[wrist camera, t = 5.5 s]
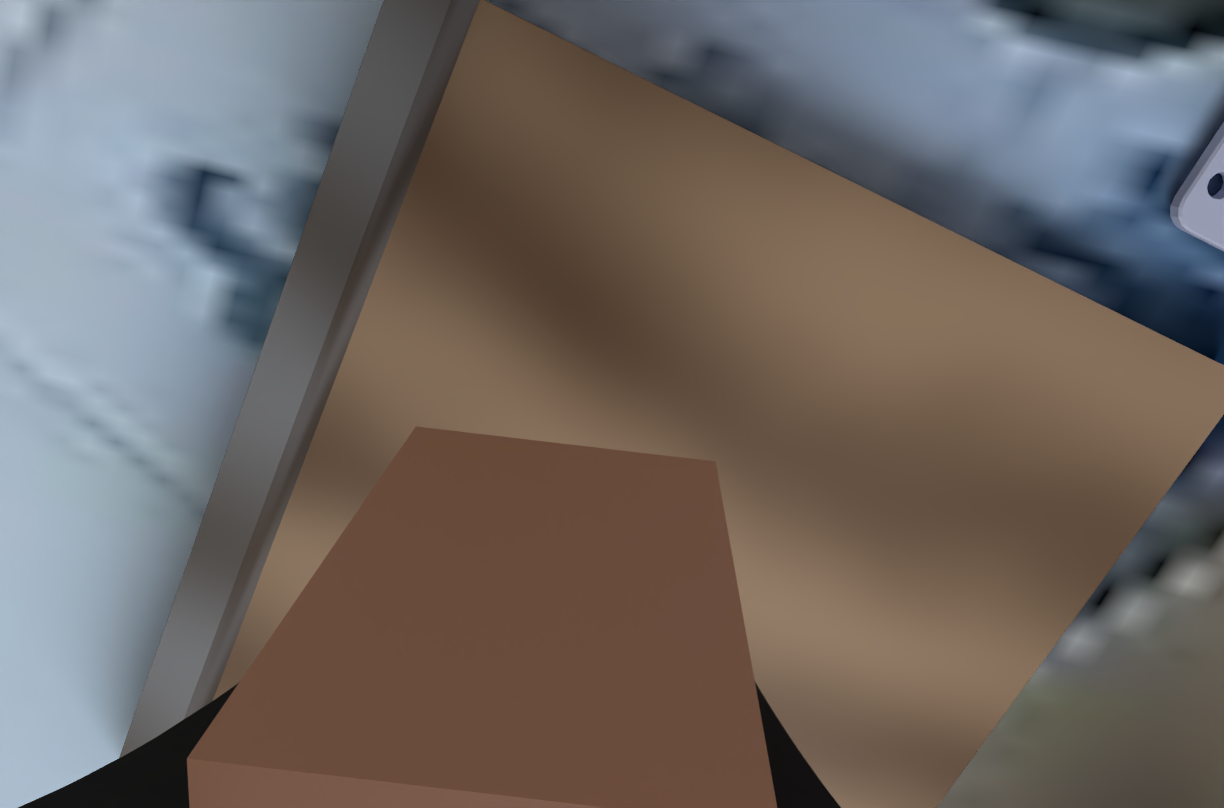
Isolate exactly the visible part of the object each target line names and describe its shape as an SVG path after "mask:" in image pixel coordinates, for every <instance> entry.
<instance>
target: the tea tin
mask: <svg viewBox="0 0 1224 808" xmlns="http://www.w3.org/2000/svg"><path fill="white" fill-rule="evenodd" d="M187 771H188V790H189V808H777V803H776V798H775V792H774V786H773V781H772V775H771V770H770V764H769V758H768V753H767V747H766V742H765V736H764V730H763V725H762V719H761V714H760V708H759V702H758V697H757V691H756V686H755V680H754V674H753V669H752V663H751V658H750V652H749V646H748V641H747V635H746V630H745V624H744V618H743V613H742V607H741V601H740V596H739V590H738V585H737V579H736V573H735V568H734V562H733V557H732V551H731V545H730V540H729V534H728V529H727V523H726V517H725V512H724V506H723V501H722V495H721V489H720V484H719V478H718V473H717V467H716V461H708V460H699V459H690V458H682V457H673V456H665V455H656V454H648V453H639V452H631V451H622V450H613V449H605V448H596V447H588V446H579V445H571V444H562V443H554V442H545V441H536V440H528V439H519V438H511V437H502V436H494V435H485V434H477V433H468V432H459V431H451V430H442V429H434V428H425V427H417V426H416V427H415V428H414V430H413V431H412V433H411V434H410V436H409V437H408V438H407V440H406V441H405V443H404V444H403V446H402V447H401V449H400V450H399V451H398V453H397V454H396V456H395V457H394V459H393V460H392V462H391V463H390V465H389V466H388V467H387V469H386V470H385V472H384V473H383V475H382V476H381V478H380V479H379V481H378V482H377V483H376V485H375V486H374V488H373V489H372V491H371V492H370V494H369V495H368V496H367V498H366V499H365V501H364V502H363V504H362V505H361V507H360V508H359V510H358V511H357V512H356V514H355V515H354V517H353V518H352V520H351V521H350V523H349V524H348V525H347V527H346V528H345V530H344V531H343V533H342V534H341V536H340V537H339V539H338V540H337V541H336V543H335V544H334V546H333V547H332V549H331V550H330V552H329V553H328V554H327V556H326V557H325V559H324V560H323V562H322V563H321V565H320V566H319V568H318V569H317V570H316V572H315V573H314V575H313V576H312V578H311V579H310V581H309V582H308V584H307V585H306V586H305V588H304V589H303V591H302V592H301V594H300V595H299V597H298V598H297V599H296V601H295V602H294V604H293V605H292V607H291V608H290V610H289V611H288V613H287V614H286V615H285V617H284V618H283V620H282V621H281V623H280V624H279V626H278V627H277V628H276V630H275V631H274V633H273V634H272V636H271V637H270V639H269V640H268V642H267V643H266V644H265V646H264V647H263V649H262V650H261V652H260V653H259V655H258V656H257V658H256V659H255V660H254V662H253V663H252V665H251V666H250V668H249V669H248V671H247V672H246V673H245V675H244V676H243V678H242V679H241V681H240V682H239V684H238V685H237V687H236V688H235V689H234V691H233V692H232V694H231V695H230V697H229V698H228V700H227V701H226V702H225V704H224V705H223V707H222V708H221V710H220V711H219V713H218V714H217V716H216V717H215V718H214V720H213V721H212V723H211V724H210V726H209V727H208V729H207V730H206V732H205V733H204V734H203V736H202V737H201V739H200V740H199V742H198V743H197V745H196V746H195V747H194V749H193V750H192V752H191V753H190V755H189V756H188V758H187Z"/></svg>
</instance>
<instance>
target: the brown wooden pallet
mask: <svg viewBox="0 0 1224 808" xmlns="http://www.w3.org/2000/svg"><path fill="white" fill-rule="evenodd" d="M1223 415H1224V365H1222V364H1220V363H1218V362H1216V361H1214V360H1212V359H1210V358H1208V357H1206V356H1204V355H1202V354H1200V353H1198V352H1196V351H1194V350H1192V349H1190V348H1187V347H1185V346H1183V345H1181V344H1179V343H1177V342H1175V341H1173V340H1171V339H1169V338H1167V337H1165V336H1163V335H1161V334H1159V333H1157V332H1155V331H1153V330H1151V329H1149V328H1147V327H1145V326H1143V325H1141V324H1139V323H1137V322H1135V321H1133V320H1131V319H1129V318H1127V317H1125V316H1123V315H1121V314H1119V313H1117V312H1115V311H1113V310H1111V309H1109V308H1106V307H1104V306H1102V305H1100V304H1098V303H1096V302H1094V301H1092V300H1090V299H1088V298H1086V297H1084V296H1082V295H1080V294H1078V293H1076V292H1074V291H1072V290H1070V289H1068V288H1066V287H1064V286H1062V285H1060V284H1058V283H1056V282H1054V281H1052V280H1050V279H1048V278H1046V277H1044V276H1042V275H1040V274H1038V273H1036V272H1034V271H1032V270H1030V269H1028V268H1026V267H1023V266H1021V265H1019V264H1017V263H1015V262H1013V261H1011V260H1009V259H1007V258H1005V257H1003V256H1001V255H999V254H997V253H995V252H993V251H991V250H989V249H987V248H985V247H983V246H981V245H979V244H977V243H975V242H973V241H971V240H969V239H967V238H965V237H963V236H961V235H959V234H957V233H955V232H953V231H951V230H949V229H947V228H945V227H942V226H940V225H938V224H936V223H934V222H932V221H930V220H928V219H926V218H924V217H922V216H920V215H918V214H916V213H914V212H912V211H910V210H908V209H906V208H904V207H902V206H900V205H898V204H896V203H894V202H892V201H890V200H888V199H886V198H884V197H882V196H880V195H878V194H876V193H874V192H872V191H870V190H868V189H866V188H864V187H862V186H859V185H857V184H855V183H853V182H851V181H849V180H847V179H845V178H843V177H841V176H839V175H837V174H835V173H833V172H831V171H829V170H827V169H825V168H823V167H821V166H819V165H817V164H815V163H813V162H811V161H809V160H807V159H805V158H803V157H801V156H799V155H797V154H795V153H793V152H791V151H789V150H787V149H785V148H783V147H781V146H778V145H776V144H774V143H772V142H770V141H768V140H766V139H764V138H762V137H760V136H758V135H756V134H754V133H752V132H750V131H748V130H746V129H744V128H742V127H740V126H738V125H736V124H734V123H732V122H730V121H728V120H726V119H724V118H722V117H720V116H718V115H716V114H714V113H712V112H710V111H708V110H706V109H704V108H702V107H700V106H698V105H695V104H693V103H691V102H689V101H687V100H685V99H683V98H681V97H679V96H677V95H675V94H673V93H671V92H669V91H667V90H665V89H663V88H661V87H659V86H657V85H655V84H653V83H651V82H649V81H647V80H645V79H643V78H641V77H639V76H637V75H635V74H633V73H631V72H629V71H627V70H625V69H623V68H621V67H619V66H617V65H615V64H612V63H610V62H608V61H606V60H604V59H602V58H600V57H598V56H596V55H594V54H592V53H590V52H588V51H586V50H584V49H582V48H580V47H578V46H576V45H574V44H572V43H570V42H568V41H566V40H564V39H562V38H560V37H558V36H556V35H554V34H552V33H550V32H548V31H546V30H544V29H542V28H540V27H538V26H536V25H534V24H531V23H529V22H527V21H525V20H523V19H521V18H519V17H517V16H515V15H513V14H511V13H509V12H507V11H505V10H503V9H501V8H499V7H497V6H495V5H493V4H491V3H489V2H487V1H485V0H384V1H383V4H382V7H381V10H380V13H379V16H378V18H377V21H376V24H375V27H374V30H373V33H372V36H371V38H370V41H369V44H368V47H367V50H366V53H365V56H364V59H363V61H362V64H361V67H360V70H359V73H358V76H357V79H356V81H355V84H354V87H353V90H352V93H351V96H350V99H349V101H348V104H347V107H346V110H345V113H344V116H343V119H342V122H341V124H340V127H339V130H338V133H337V136H336V139H335V142H334V144H333V147H332V150H331V153H330V156H329V159H328V162H327V165H326V167H325V170H324V173H323V176H322V179H321V182H320V185H319V187H318V190H317V193H316V196H315V199H314V202H313V205H312V207H311V210H310V213H309V216H308V219H307V222H306V225H305V228H304V230H303V233H302V236H301V239H300V242H299V245H298V248H297V250H296V253H295V256H294V259H293V262H292V265H291V268H290V271H289V273H288V276H287V279H286V282H285V285H284V288H283V291H282V293H281V296H280V299H279V302H278V305H277V308H276V311H275V313H274V316H273V319H272V322H271V325H270V328H269V331H268V334H267V336H266V339H265V342H264V345H263V348H262V351H261V354H260V356H259V359H258V362H257V365H256V368H255V371H254V374H253V377H252V379H251V382H250V385H249V388H248V391H247V394H246V397H245V399H244V402H243V405H242V408H241V411H240V414H239V417H238V420H237V422H236V425H235V428H234V431H233V434H232V437H231V440H230V442H229V445H228V448H227V451H226V454H225V457H224V460H223V462H222V465H221V468H220V471H219V474H218V477H217V480H216V483H215V485H214V488H213V491H212V494H211V497H210V500H209V503H208V505H207V508H206V511H205V514H204V517H203V520H202V523H201V526H200V528H199V531H198V534H197V537H196V540H195V543H194V546H193V548H192V551H191V554H190V557H189V560H188V563H187V566H186V568H185V571H184V574H183V577H182V580H181V583H180V586H179V589H178V591H177V594H176V597H175V600H174V603H173V606H172V609H171V611H170V614H169V617H168V620H167V623H166V626H165V629H164V632H163V634H162V637H161V640H160V643H159V646H158V649H157V652H156V654H155V657H154V660H153V663H152V666H151V669H150V672H149V674H148V677H147V680H146V683H145V686H144V689H143V692H142V695H141V697H140V700H139V703H138V706H137V709H136V712H135V715H134V717H133V720H132V723H131V726H130V729H129V732H128V735H127V738H126V740H125V743H124V746H123V749H122V752H121V755H120V758H121V757H123V756H124V755H126V754H128V753H130V752H131V751H133V750H135V749H137V748H139V747H140V746H142V745H144V744H145V743H147V742H149V741H150V740H152V739H154V738H156V737H157V736H159V735H160V734H162V733H164V732H165V731H167V730H168V729H170V728H171V727H173V726H174V725H176V724H178V723H179V722H181V721H182V720H184V719H185V718H187V717H188V716H190V715H192V714H193V713H195V712H196V711H198V710H199V709H201V708H202V707H204V706H206V705H207V704H209V703H210V702H212V701H213V700H215V699H216V698H218V697H219V696H221V695H222V694H223V693H225V692H226V691H228V690H229V689H231V688H232V687H233V686H235V685H236V684H238V683H239V682H240V681H241V679H242V678H243V676H244V675H245V673H246V672H247V671H248V669H249V668H250V666H251V665H252V663H253V662H254V660H255V659H256V658H257V656H258V655H259V653H260V652H261V650H262V649H263V647H264V646H265V644H266V643H267V642H268V640H269V639H270V637H271V636H272V634H273V633H274V631H275V630H276V628H277V627H278V626H279V624H280V623H281V621H282V620H283V618H284V617H285V615H286V614H287V613H288V611H289V610H290V608H291V607H292V605H293V604H294V602H295V601H296V599H297V598H298V597H299V595H300V594H301V592H302V591H303V589H304V588H305V586H306V585H307V584H308V582H309V581H310V579H311V578H312V576H313V575H314V573H315V572H316V570H317V569H318V568H319V566H320V565H321V563H322V562H323V560H324V559H325V557H326V556H327V554H328V553H329V552H330V550H331V549H332V547H333V546H334V544H335V543H336V541H337V540H338V539H339V537H340V536H341V534H342V533H343V531H344V530H345V528H346V527H347V525H348V524H349V523H350V521H351V520H352V518H353V517H354V515H355V514H356V512H357V511H358V510H359V508H360V507H361V505H362V504H363V502H364V501H365V499H366V498H367V496H368V495H369V494H370V492H371V491H372V489H373V488H374V486H375V485H376V483H377V482H378V481H379V479H380V478H381V476H382V475H383V473H384V472H385V470H386V469H387V467H388V466H389V465H390V463H391V462H392V460H393V459H394V457H395V456H396V454H397V453H398V451H399V450H400V449H401V447H402V446H403V444H404V443H405V441H406V440H407V438H408V437H409V436H410V434H411V433H412V431H413V430H414V428H415V427H416V426H417V427H425V428H434V429H442V430H451V431H459V432H468V433H477V434H485V435H494V436H502V437H511V438H519V439H528V440H536V441H545V442H554V443H562V444H571V445H579V446H588V447H596V448H605V449H613V450H622V451H631V452H639V453H648V454H656V455H665V456H673V457H682V458H690V459H699V460H708V461H716V467H717V473H718V478H719V484H720V489H721V495H722V501H723V506H724V512H725V517H726V523H727V529H728V534H729V540H730V545H731V551H732V557H733V562H734V568H735V573H736V579H737V585H738V590H739V596H740V601H741V607H742V613H743V618H744V624H745V630H746V635H747V641H748V646H749V652H750V658H751V663H752V669H753V674H754V680H755V682H756V684H757V685H758V687H759V689H760V690H761V692H762V694H763V695H764V697H765V699H766V700H767V702H768V703H769V705H770V707H771V708H772V710H773V711H774V713H775V715H776V716H777V718H778V719H779V721H780V722H781V724H782V725H783V727H784V729H785V730H786V732H787V733H788V735H789V736H790V738H791V739H792V741H793V742H794V744H795V745H796V747H797V748H798V750H799V751H800V752H801V754H802V755H803V757H804V758H805V759H806V761H807V762H808V764H809V765H810V767H811V768H812V769H813V771H814V772H815V774H816V775H817V776H818V778H819V779H820V781H821V782H822V783H823V785H824V786H825V787H826V789H827V790H828V791H829V793H830V794H831V795H832V797H833V798H834V799H835V801H836V802H837V803H838V804H839V806H840V807H841V808H936V807H937V806H938V804H939V803H940V801H941V800H942V799H943V797H944V796H945V795H946V793H947V792H948V790H949V789H950V788H951V786H952V785H953V784H954V782H955V781H956V780H957V778H958V777H959V775H960V774H961V773H962V771H963V770H964V769H965V767H966V766H967V765H968V763H969V762H970V760H971V759H972V758H973V756H974V755H975V754H976V752H977V751H978V749H979V748H980V747H981V745H982V744H983V743H984V741H985V740H986V739H987V737H988V736H989V734H990V733H991V732H992V730H993V729H994V728H995V726H996V725H997V723H998V722H999V721H1000V719H1001V718H1002V717H1003V715H1004V714H1005V713H1006V711H1007V710H1008V708H1009V707H1010V706H1011V704H1012V703H1013V702H1014V700H1015V699H1016V698H1017V696H1018V695H1019V693H1020V692H1021V691H1022V689H1023V688H1024V687H1025V685H1026V684H1027V682H1028V681H1029V680H1030V678H1031V677H1032V676H1033V674H1034V673H1035V672H1036V670H1037V669H1038V667H1039V666H1040V665H1041V663H1042V662H1043V661H1044V659H1045V658H1046V656H1047V655H1048V654H1049V652H1050V651H1051V650H1052V648H1053V647H1054V646H1055V644H1056V643H1057V641H1058V640H1059V639H1060V637H1061V636H1062V635H1063V633H1064V632H1065V631H1066V629H1067V628H1068V626H1069V625H1070V624H1071V622H1072V621H1073V620H1074V618H1075V617H1076V615H1077V614H1078V613H1079V611H1080V610H1081V609H1082V607H1083V606H1084V605H1085V603H1086V602H1087V600H1088V599H1089V598H1090V596H1091V595H1092V594H1093V592H1094V591H1095V590H1096V588H1097V587H1098V585H1099V584H1100V583H1101V581H1102V580H1103V579H1104V577H1105V576H1106V574H1107V573H1108V572H1109V570H1110V569H1111V568H1112V566H1113V565H1114V564H1115V562H1116V561H1117V559H1118V558H1119V557H1120V555H1121V554H1122V553H1123V551H1124V550H1125V548H1126V547H1127V546H1128V544H1129V543H1130V542H1131V540H1132V539H1133V538H1134V536H1135V535H1136V533H1137V532H1138V531H1139V529H1140V528H1141V527H1142V525H1143V524H1144V523H1145V521H1146V520H1147V518H1148V517H1149V516H1150V514H1151V513H1152V512H1153V510H1154V509H1155V507H1156V506H1157V505H1158V503H1159V502H1160V501H1161V499H1162V498H1163V497H1164V495H1165V494H1166V492H1167V491H1168V490H1169V488H1170V487H1171V486H1172V484H1173V483H1174V482H1175V480H1176V479H1177V477H1178V476H1179V475H1180V473H1181V472H1182V471H1183V469H1184V468H1185V466H1186V465H1187V464H1188V462H1189V461H1190V460H1191V458H1192V457H1193V456H1194V454H1195V453H1196V451H1197V450H1198V449H1199V447H1200V446H1201V445H1202V443H1203V442H1204V440H1205V439H1206V438H1207V436H1208V435H1209V434H1210V432H1211V431H1212V430H1213V428H1214V427H1215V425H1216V424H1217V423H1218V421H1219V420H1220V419H1221V417H1222V416H1223Z"/></svg>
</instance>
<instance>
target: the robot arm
mask: <svg viewBox="0 0 1224 808" xmlns="http://www.w3.org/2000/svg"><path fill="white" fill-rule="evenodd" d="M1217 173H1220V174H1221V175H1222V178H1223V185H1222V187H1221V190H1220V191H1219V192H1218V193H1217V194H1215V195H1214V196H1210V195H1209V194H1208V190H1207V185H1208V183H1209V180H1210V179H1211V178H1212V177H1213V176H1214V175H1215V174H1217ZM1170 216H1171V219H1172V221H1173V223H1174V224H1175V225H1176V226H1177V227H1178V228H1179V229H1180V230H1182V231H1184V232H1186V233H1188V234H1190V235H1192V236H1194V237H1196V238H1198V239H1200V240H1202V241H1204V242H1206V243H1208V244H1210V245H1212V246H1214V247H1216V248H1218V249H1220V250H1222V251H1224V122H1223V123H1222V125H1221V126H1220V128H1219V129H1218V131H1217V133H1216V134H1215V136H1214V137H1213V139H1212V140H1211V142H1210V143H1209V145H1208V146H1207V148H1206V149H1205V151H1204V152H1203V154H1202V155H1201V157H1200V158H1199V160H1198V161H1197V163H1196V165H1195V166H1194V168H1193V169H1192V171H1191V172H1190V174H1189V175H1188V177H1187V178H1186V180H1185V181H1184V183H1183V184H1182V186H1181V187H1180V189H1179V190H1178V192H1177V193H1176V195H1175V197H1174V199H1173V201H1172V204H1171V206H1170ZM238 684H239V683H238ZM238 684H236V685H235V686H233V687H232V688H231V689H229V690H228V691H226V692H225V693H223V694H222V695H221V696H219V697H218V698H216V699H215V700H213V701H212V702H210V703H209V704H207V705H206V706H204V707H202V708H201V709H199V710H198V711H196V712H195V713H193V714H192V715H190V716H188V717H187V718H185V719H184V720H182V721H181V722H179V723H178V724H176V725H174V726H173V727H171V728H170V729H168V730H167V731H165V732H164V733H162V734H160V735H159V736H157V737H156V738H154V739H152V740H150V741H149V742H147V743H145V744H144V745H142V746H140V747H139V748H137V749H135V750H133V751H131V752H130V753H128V754H126V755H124V756H123V757H121V758H119V759H117V760H115V761H113V762H111V763H110V764H108V765H106V766H104V767H102V768H100V769H98V770H96V771H94V772H92V773H91V774H89V775H87V776H85V777H83V778H81V779H79V780H77V781H75V782H73V783H71V784H69V785H67V786H65V787H63V788H61V789H59V790H56V791H54V792H52V793H50V794H47V795H45V796H43V797H41V798H39V799H36V800H34V801H32V802H30V803H27V804H25V805H23V806H21V807H19V808H189V790H188V771H187V758H188V756H189V755H190V753H191V752H192V750H193V749H194V747H195V746H196V745H197V743H198V742H199V740H200V739H201V737H202V736H203V734H204V733H205V732H206V730H207V729H208V727H209V726H210V724H211V723H212V721H213V720H214V718H215V717H216V716H217V714H218V713H219V711H220V710H221V708H222V707H223V705H224V704H225V702H226V701H227V700H228V698H229V697H230V695H231V694H232V692H233V691H234V689H235V688H236V687H237V685H238ZM755 686H756V691H757V697H758V702H759V708H760V714H761V719H762V725H763V730H764V736H765V742H766V747H767V753H768V758H769V764H770V770H771V775H772V781H773V786H774V792H775V798H776V803H777V808H841V807H840V806H839V804H838V803H837V802H836V801H835V799H834V798H833V797H832V795H831V794H830V793H829V791H828V790H827V789H826V787H825V786H824V785H823V783H822V782H821V781H820V779H819V778H818V776H817V775H816V774H815V772H814V771H813V769H812V768H811V767H810V765H809V764H808V762H807V761H806V759H805V758H804V757H803V755H802V754H801V752H800V751H799V750H798V748H797V747H796V745H795V744H794V742H793V741H792V739H791V738H790V736H789V735H788V733H787V732H786V730H785V729H784V727H783V725H782V724H781V722H780V721H779V719H778V718H777V716H776V715H775V713H774V711H773V710H772V708H771V707H770V705H769V703H768V702H767V700H766V699H765V697H764V695H763V694H762V692H761V690H760V689H759V687H758V685H757V684H756V682H755Z"/></svg>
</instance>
